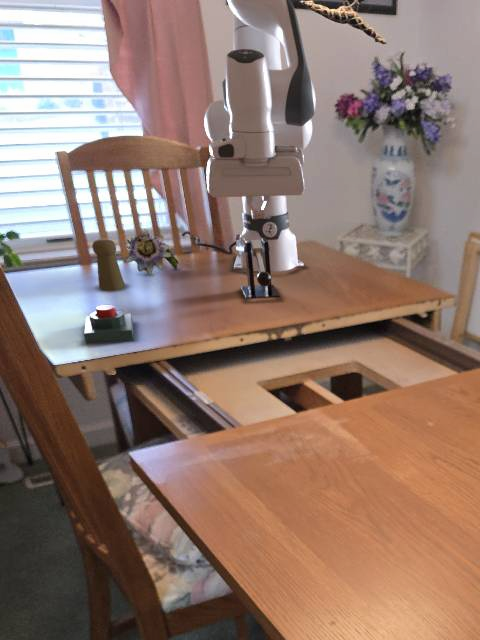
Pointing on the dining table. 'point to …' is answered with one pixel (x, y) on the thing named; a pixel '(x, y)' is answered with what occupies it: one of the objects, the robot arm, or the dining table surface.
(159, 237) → the passion flower
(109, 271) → the cork
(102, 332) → the button block
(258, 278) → the lever
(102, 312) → the button
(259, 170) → the robot arm
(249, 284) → the black two-post stand
